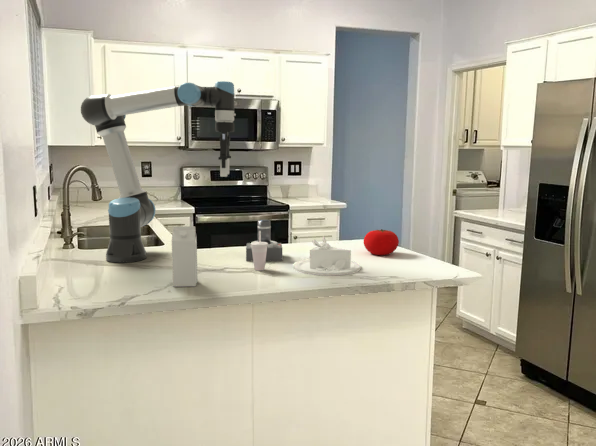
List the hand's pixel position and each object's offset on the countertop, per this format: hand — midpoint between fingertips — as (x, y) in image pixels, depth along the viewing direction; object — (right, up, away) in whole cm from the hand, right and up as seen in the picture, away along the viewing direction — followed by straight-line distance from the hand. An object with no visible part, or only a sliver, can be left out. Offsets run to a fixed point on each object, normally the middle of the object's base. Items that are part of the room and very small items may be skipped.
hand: (224, 175), depth 224 cm
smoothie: (+15, -36, -22) cm, 45 cm away
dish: (+40, -36, -18) cm, 57 cm away
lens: (+16, -28, -3) cm, 33 cm away
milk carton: (-7, -39, -43) cm, 58 cm away
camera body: (+16, -33, -3) cm, 37 cm away
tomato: (+64, -32, +7) cm, 72 cm away
